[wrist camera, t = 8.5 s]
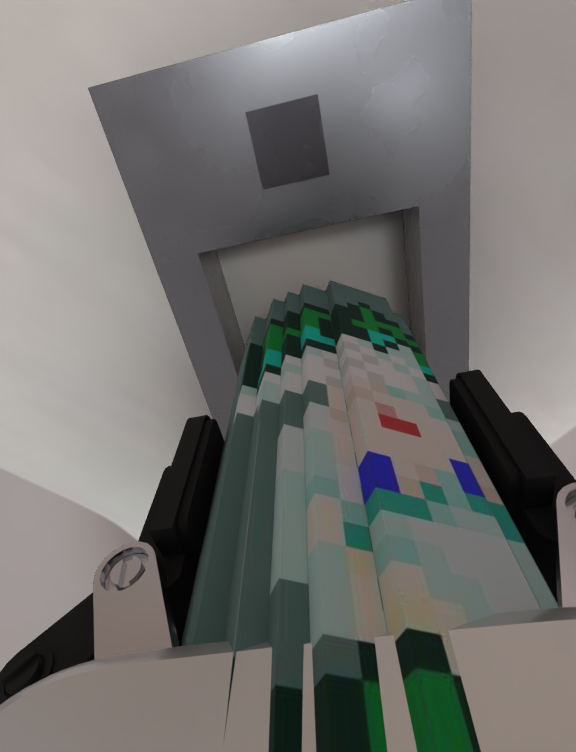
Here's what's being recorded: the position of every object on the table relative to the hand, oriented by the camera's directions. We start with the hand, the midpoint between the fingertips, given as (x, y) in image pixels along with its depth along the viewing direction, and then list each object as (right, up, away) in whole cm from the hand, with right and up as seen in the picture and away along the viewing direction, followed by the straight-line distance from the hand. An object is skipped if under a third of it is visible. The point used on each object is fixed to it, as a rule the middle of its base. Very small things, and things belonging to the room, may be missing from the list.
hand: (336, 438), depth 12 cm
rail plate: (0, +5, +8) cm, 10 cm away
